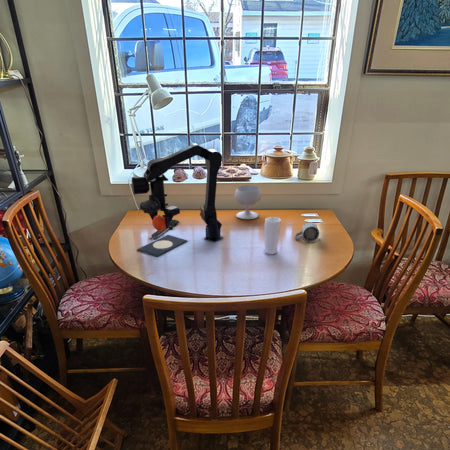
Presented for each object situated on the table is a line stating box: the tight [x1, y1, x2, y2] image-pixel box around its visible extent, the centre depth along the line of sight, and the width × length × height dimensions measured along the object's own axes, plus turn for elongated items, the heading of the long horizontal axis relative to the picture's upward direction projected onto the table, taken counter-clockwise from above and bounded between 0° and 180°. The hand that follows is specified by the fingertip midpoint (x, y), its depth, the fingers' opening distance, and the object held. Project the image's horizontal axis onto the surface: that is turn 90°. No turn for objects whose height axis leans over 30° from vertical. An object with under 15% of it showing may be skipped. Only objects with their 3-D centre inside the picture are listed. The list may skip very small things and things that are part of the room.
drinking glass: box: [263, 216, 282, 255], centre depth 159 cm, size 7×7×15 cm
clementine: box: [151, 213, 166, 231], centre depth 163 cm, size 8×7×7 cm
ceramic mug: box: [294, 222, 320, 243], centre depth 173 cm, size 11×8×8 cm
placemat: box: [137, 234, 188, 258], centre depth 169 cm, size 12×20×1 cm, turn 145°
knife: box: [150, 219, 180, 240], centre depth 184 cm, size 25×6×1 cm, turn 154°
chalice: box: [234, 185, 262, 220], centre depth 197 cm, size 14×14×15 cm
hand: (161, 226), depth 164 cm, fingers closed on clementine, 7 cm apart
